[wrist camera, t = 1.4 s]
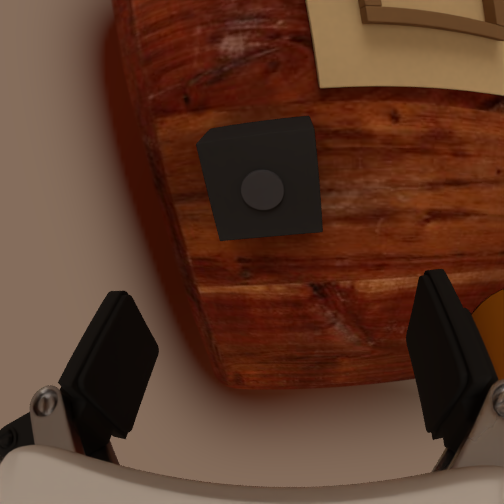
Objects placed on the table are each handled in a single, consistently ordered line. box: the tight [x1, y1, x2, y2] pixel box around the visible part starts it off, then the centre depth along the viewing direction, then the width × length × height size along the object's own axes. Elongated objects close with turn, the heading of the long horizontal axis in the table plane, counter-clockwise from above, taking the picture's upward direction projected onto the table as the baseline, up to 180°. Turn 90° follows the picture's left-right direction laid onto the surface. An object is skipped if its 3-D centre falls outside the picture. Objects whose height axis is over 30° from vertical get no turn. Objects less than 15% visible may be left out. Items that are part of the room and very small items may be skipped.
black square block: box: [196, 116, 323, 241], centre depth 19 cm, size 6×6×4 cm
